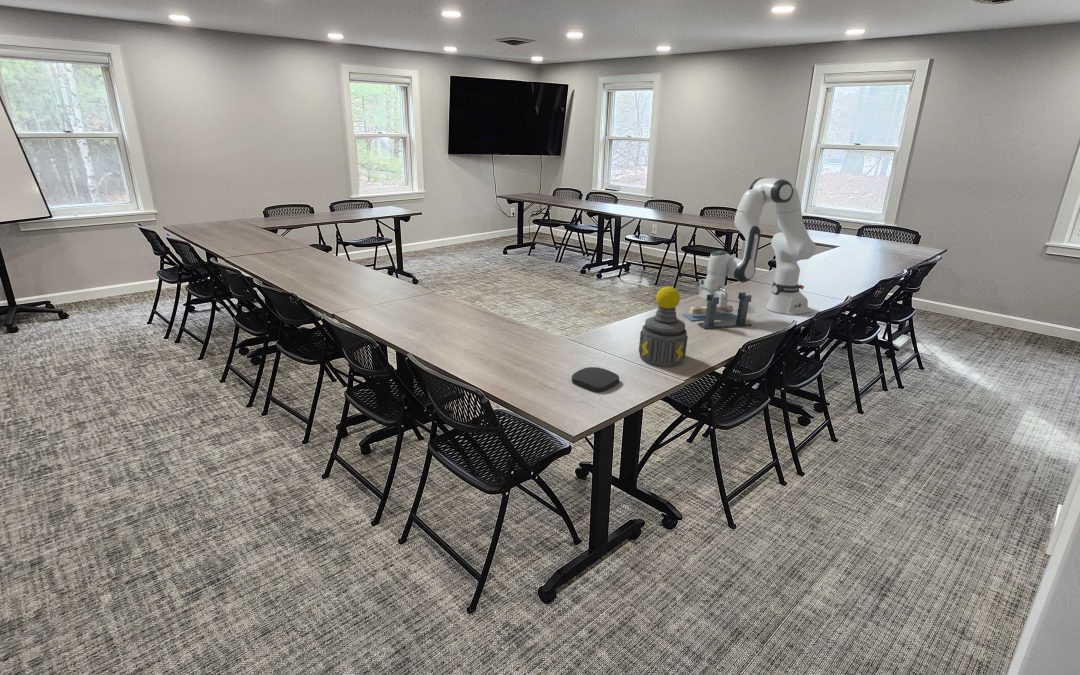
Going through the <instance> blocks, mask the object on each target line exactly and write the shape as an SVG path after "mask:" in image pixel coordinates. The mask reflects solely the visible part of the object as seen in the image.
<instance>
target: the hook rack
mask: <svg viewBox="0 0 1080 675" xmlns="http://www.w3.org/2000/svg"><path fill="white" fill-rule="evenodd" d="M746 293H747V292H745V291H742V292H741V291H740V292H738V296H737V299H738V301H739V302H738V307H737V308H738V309H737V314H736V316H737V318H735V320H720V321H715V320H716V319H715V312H716V306H717V304H719V297H714V295H713V294H707V298H706V300H705V302H706V301H708V303H707V305H706V306H707V310H706V317H705V320H704V322H698V323H697V326H699V327H700V328H701V329H703V330H712V329H713V330H714V329H725V328H739V327H740V328H741V327H751V326H752V324H753V323H751V322H749V321H748V320H747V316H748V309H749V303H751V302H752V294H746ZM714 319H715V320H714Z"/></svg>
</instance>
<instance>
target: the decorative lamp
mask: <svg viewBox="0 0 1080 675" xmlns="http://www.w3.org/2000/svg"><path fill="white" fill-rule="evenodd" d="M655 300H656V305H658V307H657V310H656V314H655V315H654V316H651V317H648V318H647V319H645V321H644V322H645V323H644V325H643V326H642V328H641V331H640V336H639V344H638V345H639V347H638V352H639V357H640V359H641V360H642V361H643V362H645V363H647V364H649V365H652V366H656V367H664V368H665V367H676V366H678V365H681V364H682V363H683V362H684V359H685V357H686V354H687V352H686V351H687V345H688V344H687V343H688V338H689V337H688V335H687V334H688V331H687V330H686V323H685V322H684V321H683V320H682V319H679V318H678V316H677V311H676V307H677V306H678V305H679V304H680V301H681V295H680V292H679V291H678V290H677V289H676V288H674V287H673V286H664V287H661V288H660V289H659V290H658V291H657V294H656V297H655Z"/></svg>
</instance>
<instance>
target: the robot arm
mask: <svg viewBox="0 0 1080 675" xmlns="http://www.w3.org/2000/svg"><path fill="white" fill-rule="evenodd" d="M798 192H799V191H798V189H797V187H796V186H793V184H792V183H791V182H790V181H788V180H787V179H783V178H782V179H781V178H777V177H759V178H757V179H754V180H753V182H752V183H751V185H750V187H749V188H748V190H746V191H745V192H744V194H743V195H742V197H741V199H740V200H739V204H738V206H737V210H736V213H735V216H734V221H733V222H734V226H735V228H736V229H737V230H738V231H739V233H740V234H742V235H743V237H744V239H745V246H744V252H743V256H742V259H741V258H738V257H736V256H733V255H732V254H729V253H728V251H726V250H714V251H712V252H711V253H710V254H709V255H710V256H709V258H708V262H707V267H706V268H707V275H706V277H705V278H703V279H700V280H699V290H698V296H699V298H700V299H702V300H704V301H705V304H706V306H707V303H708V301H706V298H707V294H713V295H714V297H719V304H717V306H716V310H717V308H726V307H727V305H728V293H727V291H726V289H725V282H726V277H728V278H732V279H734V280H736V281H738V282H740V283H747V282H749V281H750V280H752V279H753V278H754V276H755V274H756V262H757V257H758V253H759V252H758V251H759V246H760V242H761V229H760V219H761V215H762V212H763V210H764V206H765V205H766V204H767V203H775V213H776V220H777V226H778V228H779V229H780V230H781V232H777V233H775V234H774V235H773V237H772V238H771V241H770V245H771V248H772V249H773V252H774V255H775V261H776V262H775V264H776V268H775V276H774V279H773V280H774V281H773V283H772V286H771V294H770V297H769V300H768V302H767V305H766V306H765V307H766V309H767V310H769V311H771V312H774V313H779V314H783V315H785V314H786V315H790V316H795V315H800V314H805V313H806V314H807V313H812V312H813V309H812V308H810V307H809V306H808V305H809V301H808V298H807V297H806V296H805V295H804V294H802V292H801V291H800V290H803V289H805V286H804V285H802V284H798V282H799V279H800V278H799V277H800V274H801V268H800V266H799V264H798V262H797V260H809V259H811V258H812V257H813V256H814V254H815V253H816V249H817V246H816V243H815V242H814V241H813V240H812V238H811V237H810V235H809V234H808V231H807V229H806V226H805V224H804V220H803V213H802V203H801V199H800V195H799V193H798ZM715 313H716V312H715Z"/></svg>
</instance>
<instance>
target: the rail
mask: <svg viewBox="0 0 1080 675" xmlns="http://www.w3.org/2000/svg"><path fill="white" fill-rule="evenodd" d="M733 309H734V307H733V305H731V304H727V307H726V308H717V310H716V313H728V312H731V313H733ZM706 310H707V305H706V306H705V305H704V306H691V307H689V312H688V314H691V315H700V314H706Z"/></svg>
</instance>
